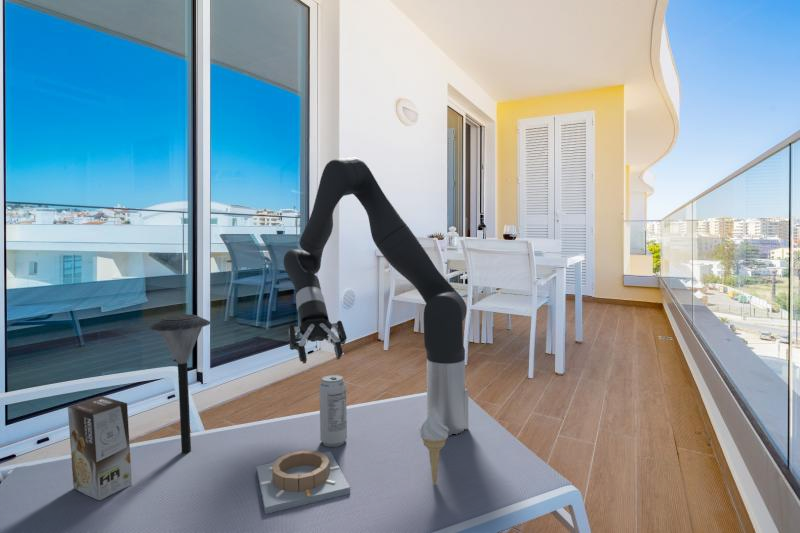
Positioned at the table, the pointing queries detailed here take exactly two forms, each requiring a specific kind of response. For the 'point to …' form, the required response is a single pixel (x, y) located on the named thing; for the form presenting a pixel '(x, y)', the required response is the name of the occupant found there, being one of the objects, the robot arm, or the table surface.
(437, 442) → the ice cream cone
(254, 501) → the table surface
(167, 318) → the solar garden light
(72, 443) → the coffee box
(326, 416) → the energy drink can
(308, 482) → the dial plate
